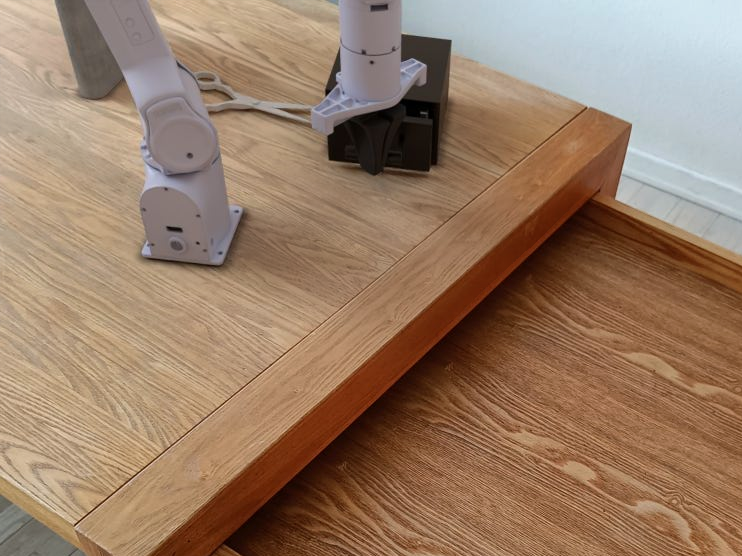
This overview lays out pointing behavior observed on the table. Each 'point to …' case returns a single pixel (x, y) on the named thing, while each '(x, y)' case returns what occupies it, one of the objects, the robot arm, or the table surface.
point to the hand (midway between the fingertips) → (371, 170)
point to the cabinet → (428, 94)
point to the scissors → (244, 99)
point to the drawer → (406, 145)
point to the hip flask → (88, 50)
